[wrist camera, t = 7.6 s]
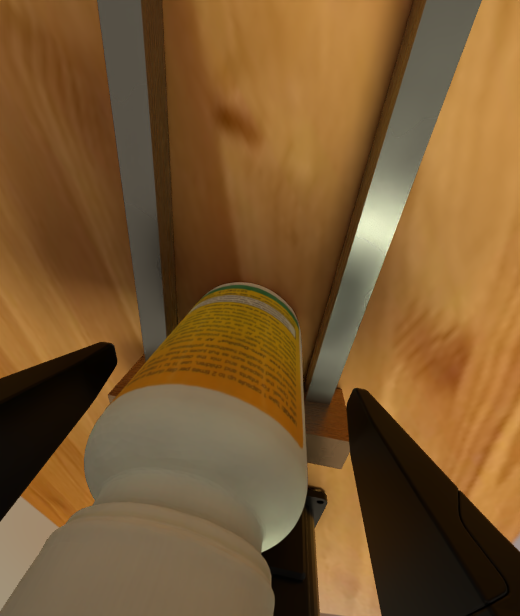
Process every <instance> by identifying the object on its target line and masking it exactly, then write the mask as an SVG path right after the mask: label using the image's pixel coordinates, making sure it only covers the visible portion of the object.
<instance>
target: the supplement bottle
mask: <svg viewBox="0 0 520 616" xmlns="http://www.w3.org/2000/svg"><path fill="white" fill-rule="evenodd" d="M84 470H85V477H86V481H87V484H88V487H89V489H90V492H91V494H92V496H93V498H94V499H95V502H94V504H93V505H92V506H89V507H86V508H83V509H81V510H79V511H78V512H76V513H75V514H73V515H72V516H71V517H70V519H69V520H68V521H67V523H66V524H65V525H64V526H62V527H60V528H58V529H57V530H55V531H54V532H53V533H52V534H51V535H50V537H49V538H48V539H47V541H46V542H45V544H44V546H43V548H42V550H41V551H40V553H39V555H38V556H37V557H36V559H35V560H34V562H33V563H32V565H31V566H30V568H29V569H28V571H27V572H26V573H25V575H24V576H23V578H22V579H21V581H20V582H19V584H18V585H17V587H16V588H15V590H14V591H13V593H12V594H11V596H10V597H9V599H8V600H7V602H6V604H5V605H4V607H3V608H2V610H1V611H0V616H273V612H274V605H275V596H274V593H273V590H272V588H271V578H272V577H271V572H270V568H269V566H268V564H267V562H266V560H265V559H264V558H263V557H262V555H261V552H263V551H266V550H268V549H270V548H271V547H273V546H275V545H276V544H278V543H279V542H280V541H281V540H283V539H284V538H285V537H286V536H287V535H288V534H289V533H290V531H291V530H292V529H293V528H294V526H295V525H296V523H297V521H298V520H299V517H300V515H301V513H302V511H303V508H304V505H305V500H306V495H307V487H308V472H307V451H306V433H305V411H304V393H303V368H302V344H301V330H300V325H299V322H298V319H297V317H296V315H295V313H294V311H293V310H292V308H291V307H290V306H289V305H288V304H287V303H286V302H285V301H284V300H283V299H282V298H281V297H280V296H278V295H277V294H276V293H274V292H273V291H271V290H269V289H267V288H265V287H263V286H260V285H257V284H253V283H246V282H234V283H228V284H223V285H220V286H218V287H216V288H214V289H212V290H211V291H209V292H208V293H207V294H205V295H204V296H203V297H202V298H201V299H200V300H199V301H198V302H197V304H196V305H195V306H194V307H193V308H192V309H191V310H190V312H189V313H188V314H187V315H186V316H185V318H184V319H183V320H182V321H181V322H180V323H179V324H178V326H177V327H176V328H175V329H174V330H173V332H172V333H171V334H170V335H169V336H168V337H167V338H166V339H165V341H164V342H163V343H162V344H161V345H160V346H159V347H158V349H157V350H156V351H155V352H154V353H153V354H152V356H151V357H150V358H149V359H148V360H147V361H146V363H145V364H144V365H143V366H142V367H141V368H140V370H139V371H138V372H137V373H136V374H135V376H134V377H133V378H132V379H131V380H130V382H129V383H128V384H127V385H126V386H125V387H124V389H123V390H122V391H121V392H120V393H119V394H118V395H117V396H116V397H115V399H114V400H113V401H112V402H111V403H110V404H109V406H108V407H107V408H106V410H105V411H104V413H103V414H102V415H101V416H100V418H99V419H98V421H97V422H96V424H95V426H94V428H93V430H92V432H91V434H90V436H89V439H88V442H87V445H86V449H85V457H84Z"/></svg>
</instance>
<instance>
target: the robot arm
mask: <svg viewBox="0 0 520 616" xmlns="http://www.w3.org/2000/svg"><path fill="white" fill-rule="evenodd" d="M116 365H117V356H116V351H115V347H114V345H113V344H112V343H107V342H99V343H96V344H94V345H91V346H88V347H86V348H83V349H80V350H77V351H75V352H72V353H69V354H66V355H64V356H61V357H58V358H55V359H53V360H50V361H47V362H44V363H42V364H39V365H36V366H33V367H31V368H28V369H25V370H22V371H20V372H17V373H14V374H11V375H9V376H6V377H3V378H1V379H0V521H1V520H2V519H3V517H4V516H5V515H6V513H7V512H8V511H9V510H10V508H11V507H12V506H13V505H14V503H15V502H16V501H17V499H18V498H19V497H20V496H21V494H22V493H23V492H24V490H25V489H26V488H27V487H28V485H29V484H30V483H31V481H32V480H33V479H34V478H35V476H36V475H37V474H38V472H39V471H40V470H41V469H42V467H43V466H44V465H45V463H46V462H47V461H48V460H49V458H50V457H51V456H52V454H53V453H54V452H55V451H56V449H57V448H58V447H59V445H60V444H61V443H62V442H63V440H64V439H65V438H66V436H67V435H68V434H69V433H70V431H71V430H72V429H73V427H74V426H75V425H76V424H77V422H78V421H79V420H80V418H81V417H82V416H83V415H84V413H85V412H86V411H87V409H88V408H89V407H90V405H91V404H92V403H93V401H94V400H95V398H96V397H97V395H98V394H99V392H100V391H101V389H102V388H103V386H104V384H105V383H106V381H107V380H108V378H109V377H110V375H111V373H112V372H113V370H114V369H115V367H116ZM346 411H347V423H348V435H349V446H350V455H351V461H352V466H353V471H354V476H355V481H356V486H357V491H358V497H359V502H360V507H361V512H362V517H363V522H364V527H365V533H366V538H367V543H368V548H369V553H370V558H371V563H372V568H373V574H374V579H375V584H376V589H377V594H378V599H379V604H380V610H381V615H382V616H520V552H519V551H518V549H517V548H515V547H514V545H513V544H512V543H511V542H510V541H509V540H508V539H507V538H506V537H504V536H503V535H502V534H501V533H500V532H499V531H498V530H497V529H496V527H495V526H494V525H493V524H492V523H491V522H490V521H489V520H488V519H487V518H486V517H485V516H484V515H483V514H482V513H481V512H480V511H479V510H478V509H477V508H476V507H475V506H474V504H473V503H472V502H471V501H470V500H469V499H468V498H467V497H466V496H465V495H464V494H463V493H462V492H461V491H459V490H458V488H457V486H456V485H455V484H454V483H453V482H452V481H451V480H450V479H449V478H448V477H447V476H446V475H445V473H444V472H443V471H442V470H441V469H440V468H439V467H438V466H437V465H436V464H435V463H434V462H433V461H432V460H431V458H430V457H429V456H428V455H427V454H426V453H425V452H424V451H423V450H422V449H421V448H420V447H419V446H418V444H417V443H416V442H415V441H414V440H413V439H412V438H411V437H410V436H409V435H408V434H407V433H406V432H405V431H404V429H403V428H402V427H401V426H400V425H399V424H398V423H397V422H396V421H395V420H394V419H393V418H392V417H391V415H390V414H389V413H388V412H387V411H386V410H385V409H384V408H383V407H382V406H381V405H380V404H379V403H378V402H377V400H376V399H375V398H374V397H373V396H372V395H371V394H370V393H369V392H368V391H367V390H365V389H360V388H354V389H353V391H352V393H351V395H350V398H349V400H348V402H347V407H346ZM326 505H327V495H326V494H325V493H322V492H318V491H313V490H308V489H307V495H306V500H305V505H304V508H303V511H302V513H301V515H300V517H299V520H298V521H297V523H296V525H295V526H294V528H293V529H292V530H291V531H290V533H289V534H288V535H287V536H286V537H285V538H284V539H283V540H281V541H280V542H279V543H278V544H276V545H275V546H273V547H271V548H270V549H268V550H266V551H263V552H261V555H262V557H263V558H264V559H265V560H266V562H267V564H268V566H269V568H270V572H271V577H272V578H271V588H272V590H273V593H274V596H275V605H274V612H273V616H320V609H319V593H318V577H317V561H316V544H315V527H316V525H317V523H318V521H319V519H320V517H321V515H322V513H323V511H324V509H325V507H326Z"/></svg>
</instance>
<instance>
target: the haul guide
mask: <svg viewBox="0 0 520 616" xmlns="http://www.w3.org/2000/svg"><path fill="white" fill-rule="evenodd" d="M481 1H482V0H414V1H413V4H412V8H411V11H410V15H409V18H408V22H407V25H406V29H405V32H404V36H403V39H402V43H401V46H400V50H399V53H398V57H397V60H396V64H395V67H394V71H393V74H392V78H391V81H390V85H389V88H388V92H387V95H386V99H385V102H384V106H383V109H382V113H381V116H380V120H379V123H378V127H377V130H376V134H375V137H374V141H373V144H372V148H371V151H370V155H369V158H368V162H367V165H366V169H365V172H364V176H363V179H362V183H361V186H360V190H359V193H358V197H357V200H356V204H355V207H354V211H353V214H352V218H351V221H350V225H349V228H348V232H347V235H346V239H345V242H344V246H343V249H342V253H341V256H340V260H339V263H338V267H337V270H336V274H335V277H334V281H333V284H332V288H331V291H330V295H329V298H328V302H327V305H326V309H325V312H324V316H323V319H322V323H321V326H320V330H319V333H318V337H317V340H316V344H315V347H314V351H313V354H312V358H311V361H310V365H309V368H308V372H307V375H306V379H305V382H303V393H304V411H305V433H306V451H307V462H308V463H313V464H318V465H323V466H328V467H332V468H337V469H341V468H342V466H343V464H344V462H345V460H346V458H347V456H348V454H349V452H350V446H349V435H348V423H347V411H346V406H345V401H344V397H343V393H342V389H337V388H336V387H337V384H338V381H339V379H340V376H341V373H342V371H343V368H344V365H345V363H346V360H347V357H348V355H349V352H350V349H351V347H352V344H353V341H354V339H355V336H356V334H357V331H358V328H359V326H360V323H361V320H362V318H363V315H364V312H365V310H366V307H367V304H368V302H369V299H370V296H371V294H372V291H373V288H374V286H375V283H376V280H377V278H378V275H379V272H380V270H381V267H382V264H383V262H384V259H385V256H386V254H387V251H388V248H389V246H390V243H391V240H392V238H393V235H394V232H395V230H396V227H397V224H398V222H399V219H400V216H401V214H402V211H403V209H404V206H405V203H406V201H407V198H408V195H409V193H410V190H411V187H412V185H413V182H414V179H415V177H416V174H417V171H418V169H419V166H420V163H421V161H422V158H423V155H424V153H425V150H426V147H427V145H428V142H429V139H430V137H431V134H432V131H433V129H434V126H435V123H436V121H437V118H438V115H439V113H440V110H441V107H442V105H443V102H444V99H445V97H446V94H447V92H448V89H449V86H450V84H451V81H452V78H453V76H454V73H455V70H456V68H457V65H458V62H459V60H460V57H461V54H462V52H463V49H464V46H465V44H466V41H467V38H468V36H469V33H470V30H471V28H472V25H473V22H474V20H475V17H476V14H477V12H478V9H479V6H480V4H481ZM97 2H98V10H99V17H100V25H101V32H102V40H103V47H104V55H105V62H106V70H107V77H108V85H109V92H110V100H111V107H112V114H113V122H114V129H115V137H116V144H117V152H118V159H119V167H120V174H121V182H122V189H123V197H124V204H125V211H126V219H127V226H128V234H129V241H130V249H131V256H132V264H133V271H134V279H135V286H136V294H137V301H138V309H139V316H140V323H141V331H142V338H143V346H144V353H145V354H144V355H143V356H142V357H141V358H140V359H139V360H138V362H137V363H136V364H135V365H134V366H133V367H132V368H131V369H130V370H129V372H128V373H127V374H126V375H125V376H124V377H123V378H122V379H121V381H120V382H119V383H118V384H117V385H116V386H115V387H114V388H113V390H112V391H111V392H110V393H109V394H108V397H109V401H110V403H111V402H112V401H113V400H114V399H115V397H116V396H117V395H118V394H119V393H120V392H121V391H122V390H123V389H124V387H125V386H126V385H127V384H128V383H129V382H130V380H131V379H132V378H133V377H134V376H135V374H136V373H137V372H138V371H139V370H140V368H141V367H142V366H143V365H144V364H145V363H146V361H147V360H148V359H149V358H150V357H151V356H152V354H153V353H154V352H155V351H156V350H157V349H158V347H159V346H160V345H161V344H162V343H163V342H164V341H165V339H166V338H167V337H168V336H169V335H170V334H171V333H172V332H173V330H174V329H175V328H176V327H177V326H178V323H177V302H176V281H175V260H174V239H173V219H172V198H171V177H170V156H169V135H168V115H167V94H166V73H165V52H164V31H163V10H162V0H97Z"/></svg>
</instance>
